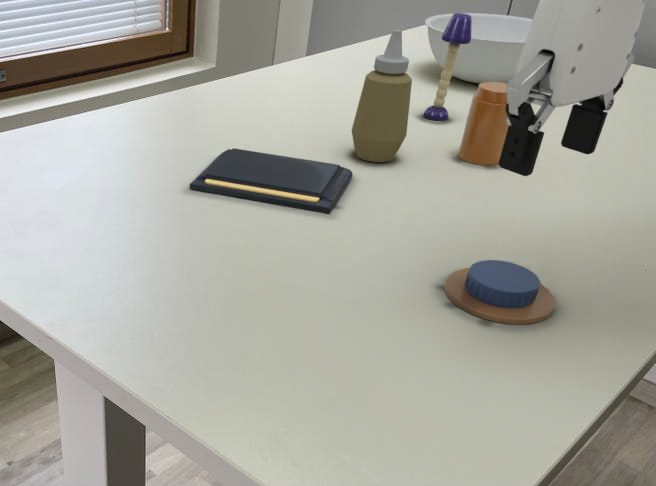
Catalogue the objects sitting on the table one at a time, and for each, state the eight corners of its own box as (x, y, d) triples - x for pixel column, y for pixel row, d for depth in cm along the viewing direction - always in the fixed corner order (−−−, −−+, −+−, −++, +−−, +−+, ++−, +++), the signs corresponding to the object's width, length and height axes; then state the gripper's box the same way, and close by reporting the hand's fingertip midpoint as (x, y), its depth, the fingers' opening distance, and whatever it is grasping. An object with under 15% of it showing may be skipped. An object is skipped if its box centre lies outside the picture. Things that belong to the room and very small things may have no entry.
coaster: (573, 301, 76) (575, 296, 76) (517, 336, 71) (519, 331, 70) (481, 262, 83) (482, 257, 83) (423, 291, 78) (425, 286, 77)
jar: (509, 159, 111) (531, 88, 105) (486, 168, 108) (507, 95, 101) (473, 147, 115) (491, 78, 109) (449, 156, 112) (467, 85, 105)
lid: (450, 285, 77) (454, 269, 76) (492, 269, 81) (497, 254, 80) (506, 315, 73) (512, 299, 72) (549, 297, 76) (554, 281, 75)
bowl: (412, 89, 142) (423, 35, 136) (416, 57, 163) (426, 9, 157) (561, 104, 135) (579, 47, 130) (545, 69, 157) (561, 19, 151)
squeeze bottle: (388, 170, 106) (413, 39, 96) (338, 157, 110) (358, 30, 100) (409, 155, 111) (436, 30, 101) (361, 143, 115) (382, 22, 105)
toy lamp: (442, 112, 130) (466, 11, 120) (456, 120, 126) (482, 16, 116) (418, 114, 129) (440, 12, 119) (432, 122, 125) (456, 17, 115)
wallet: (357, 163, 103) (330, 202, 92) (354, 175, 104) (328, 215, 93) (226, 141, 109) (186, 175, 98) (225, 153, 111) (186, 188, 99)
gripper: (624, -58, 65) (563, 132, 75) (502, -42, 57) (454, 167, 67) (712, -49, 60) (635, 153, 70) (592, -30, 52) (525, 194, 62)
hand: (546, 160), depth 68 cm, fingers open, 9 cm apart
